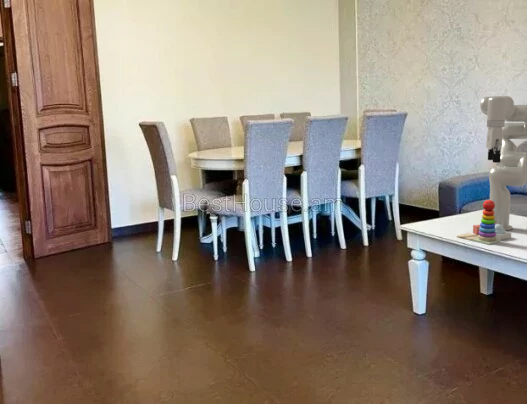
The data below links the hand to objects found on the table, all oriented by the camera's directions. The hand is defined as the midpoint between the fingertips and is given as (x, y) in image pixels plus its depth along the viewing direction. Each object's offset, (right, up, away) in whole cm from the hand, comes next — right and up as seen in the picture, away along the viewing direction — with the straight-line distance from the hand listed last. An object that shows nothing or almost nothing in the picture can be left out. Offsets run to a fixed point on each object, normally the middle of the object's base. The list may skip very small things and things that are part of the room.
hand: (493, 161), depth 253 cm
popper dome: (+4, -35, +5) cm, 35 cm away
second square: (-4, -37, -1) cm, 38 cm away
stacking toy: (-4, -37, -1) cm, 37 cm away
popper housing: (+4, -36, +5) cm, 36 cm away
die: (-2, -35, +13) cm, 37 cm away
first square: (-9, -36, +6) cm, 38 cm away
